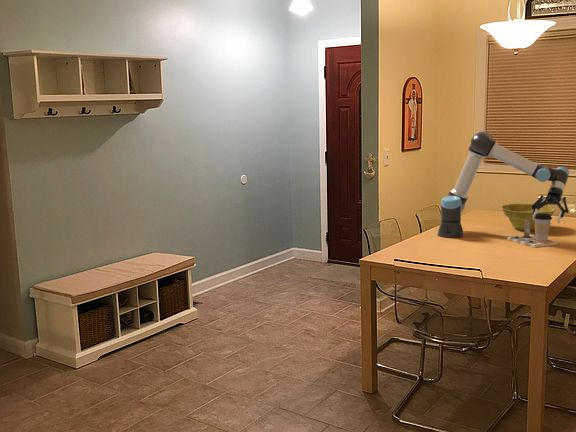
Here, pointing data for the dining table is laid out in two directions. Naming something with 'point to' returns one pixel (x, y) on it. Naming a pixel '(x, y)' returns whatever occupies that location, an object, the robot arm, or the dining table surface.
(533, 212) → the robot arm
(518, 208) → the planter bowl
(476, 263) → the dining table surface
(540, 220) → the coffee cup
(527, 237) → the control board
